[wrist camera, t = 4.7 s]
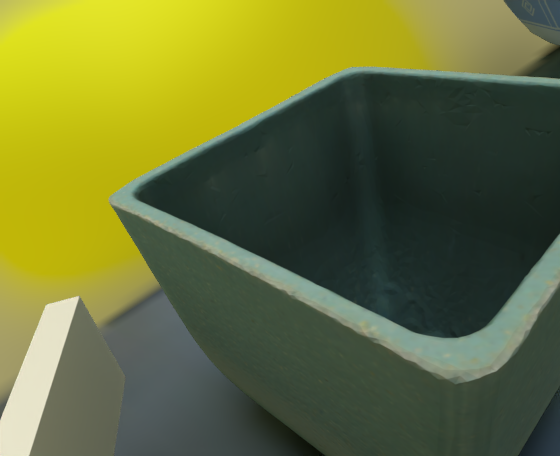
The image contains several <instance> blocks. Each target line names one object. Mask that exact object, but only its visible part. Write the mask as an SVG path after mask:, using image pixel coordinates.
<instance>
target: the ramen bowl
mask: <svg viewBox="0 0 560 456" xmlns="http://www.w3.org/2000/svg"><path fill="white" fill-rule="evenodd" d="M504 2H505V3H506V4H507V6H508V7H509V8H510V9H511V10H512V12H513V13H514V14H515V15H516V16H517V18H519V20H520V21H521V22H522V23H523V24H524V25H525V26H526V27H527V28H528V29H529V30H530V31H531V32H532V33H533V34H535V35H537V36H539V37H541V38H542V39H544V40H546V41H548V42H550V43H552V44H556V45H559V46H560V0H504Z"/></svg>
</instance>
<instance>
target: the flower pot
mask: <svg viewBox="0 0 560 456" xmlns="http://www.w3.org/2000/svg"><path fill="white" fill-rule="evenodd" d="M109 202H110V204H111V206H112V207H113V209H114V210H115V212H116V213H117V215H118V217H119V218H120V220H121V222H122V223H123V225H124V227H125V228H126V230H127V232H128V233H129V235H130V236H131V238H132V239H133V241H134V243H135V244H136V246H137V247H138V249H139V251H140V253H141V254H142V256H143V258H144V259H145V261H146V263H147V264H148V266H149V268H150V269H151V271H152V273H153V274H154V276H155V278H156V279H157V281H158V282H159V284H160V286H161V287H162V289H163V290H164V292H165V294H166V296H167V297H168V299H169V301H170V302H171V304H172V305H173V307H174V309H175V310H176V312H177V313H178V315H179V317H180V318H181V320H182V321H183V323H184V324H185V326H186V328H187V329H188V331H189V332H190V334H191V335H192V337H193V338H194V340H195V341H196V342H197V344H198V345H199V346H200V348H201V349H202V350H203V351H204V353H205V354H206V355H207V357H208V358H209V359H210V360H211V361H212V362H213V363H214V365H215V366H216V367H217V368H218V369H219V370H220V371H221V372H222V373H223V374H224V375H225V376H226V377H227V378H228V379H229V380H230V381H231V382H232V383H234V384H235V385H236V386H237V387H238V388H239V389H240V390H241V391H243V392H244V393H245V394H246V395H247V396H249V397H250V398H251V399H252V400H254V401H255V402H256V403H258V404H259V405H260V406H261V407H263V408H264V409H265V410H267V411H268V412H269V413H270V414H272V415H273V416H274V417H276V418H277V419H278V420H280V421H281V422H282V423H284V424H285V425H286V426H287V427H289V428H290V429H291V430H293V431H294V432H295V433H296V434H298V435H299V436H300V437H302V438H303V439H304V440H306V441H307V442H308V443H309V444H311V445H312V446H313V447H315V448H316V449H317V450H319V451H320V452H321V453H322V454H324V455H325V456H518V455H519V453H520V452H521V450H522V448H523V447H524V445H525V443H526V441H527V440H528V438H529V436H530V435H531V433H532V431H533V430H534V428H535V426H536V425H537V423H538V421H539V420H540V418H541V416H542V415H543V413H544V411H545V410H546V408H547V406H548V405H549V403H550V401H551V400H552V398H553V396H554V394H555V393H556V391H557V390H558V388H559V386H560V79H555V78H544V77H528V76H508V75H494V74H476V73H468V72H444V71H438V70H436V71H433V70H416V69H398V68H381V67H352V68H348V69H345V70H343V71H341V72H338V73H336V74H334V75H332V76H330V77H328V78H324V80H321V81H319V82H318V83H316V84H314V85H312V86H311V87H308V88H307V89H305V90H303V91H301V92H300V93H298V94H296V95H294V96H291V98H289V99H287V100H286V101H284V102H281V103H280V104H278V105H276V106H274V107H272V108H271V109H269V110H267V111H265V112H263V113H261V114H259V115H257V116H255V117H253V118H252V119H250V120H248V121H246V122H244V123H242V124H241V125H239V126H237V127H235V128H233V129H232V130H229V131H227V132H225V133H224V134H221V135H219V136H217V137H215V138H213V139H211V140H209V141H207V142H205V143H203V144H202V145H200V146H197V148H194V149H191V150H189V151H188V152H186V153H184V154H182V155H180V156H178V157H176V158H174V159H172V160H171V161H169V162H167V163H165V164H163V165H161V166H159V167H157V168H155V169H153V170H152V171H150V172H148V173H146V174H144V175H142V176H140V177H138V178H137V179H134V180H133V181H131V182H130V183H128V184H127V185H126V186H124V187H123V188H121V189H120V190H118V191H117V192H115V193H114V194H113V195H112V196H110V197H109Z"/></svg>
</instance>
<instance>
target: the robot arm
mask: <svg viewBox="0 0 560 456" xmlns="http://www.w3.org/2000/svg"><path fill="white" fill-rule="evenodd" d="M125 378H126V377H125V375H124V374H123V372H122V370H121V368H120V366H119V365H118V363H117V361H116V359H115V358H114V356H113V354H112V352H111V351H110V349H109V347H108V345H107V344H106V342H105V340H104V338H103V337H102V335H101V333H100V331H99V329H98V328H97V326H96V324H95V322H94V321H93V319H92V317H91V315H90V314H89V312H88V310H87V308H86V307H85V305H84V303H83V301H82V300H81V298H80V296H77V297H74V298H70V299H67V300H63V301H59V302H55V303H51V304H47V305H46V307H45V309H44V312H43V314H42V317H41V319H40V322H39V324H38V327H37V329H36V332H35V334H34V337H33V339H32V342H31V344H30V347H29V349H28V352H27V355H26V357H25V359H24V362H23V365H22V367H21V370H20V372H19V375H18V377H17V380H16V382H15V385H14V387H13V390H12V392H11V395H10V397H9V400H8V402H7V405H6V407H5V410H4V412H3V415H2V417H1V420H0V456H114V450H115V443H116V437H117V430H118V424H119V417H120V411H121V404H122V398H123V391H124V385H125Z"/></svg>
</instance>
